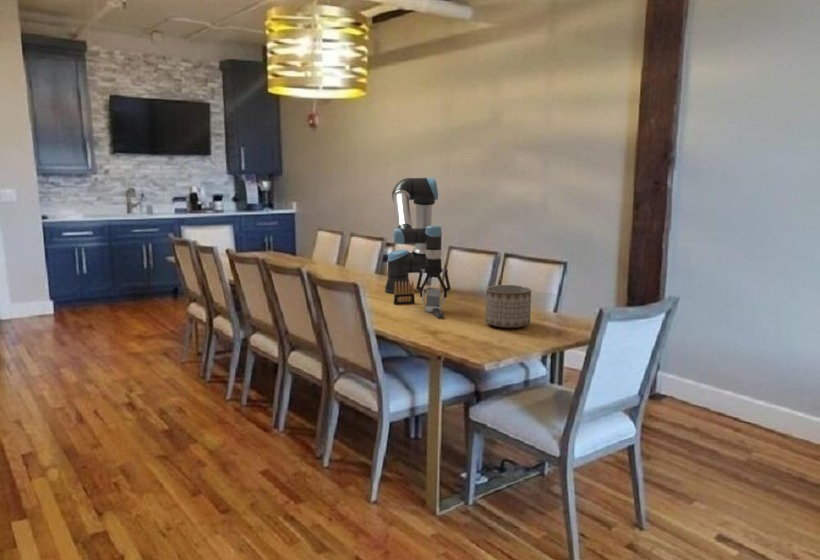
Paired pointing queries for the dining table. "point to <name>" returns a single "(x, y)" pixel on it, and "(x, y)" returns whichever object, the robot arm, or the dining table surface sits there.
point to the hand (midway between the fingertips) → (433, 303)
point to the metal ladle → (435, 311)
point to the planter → (508, 306)
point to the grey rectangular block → (433, 297)
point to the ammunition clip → (404, 293)
